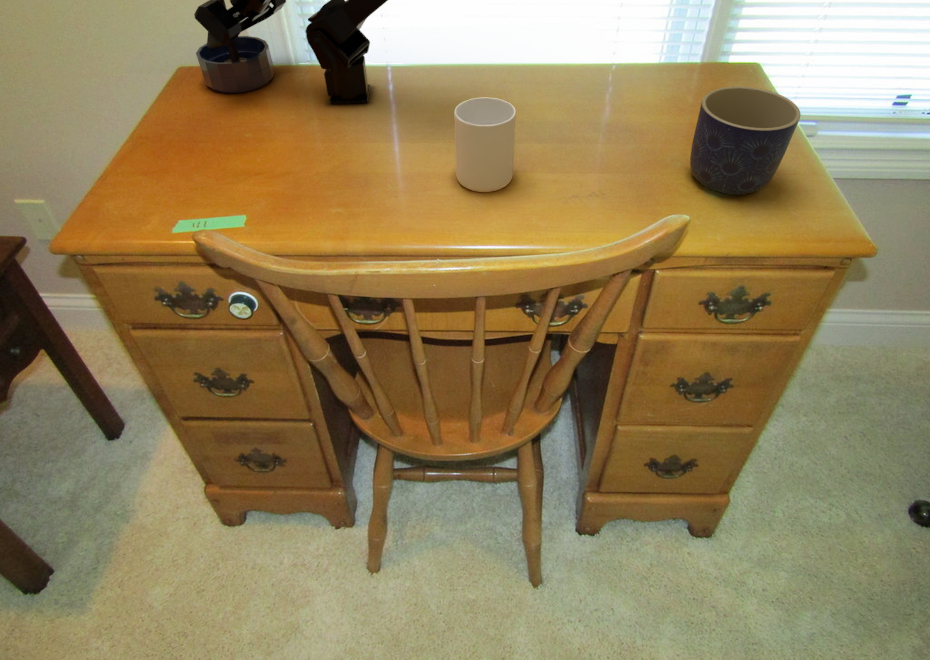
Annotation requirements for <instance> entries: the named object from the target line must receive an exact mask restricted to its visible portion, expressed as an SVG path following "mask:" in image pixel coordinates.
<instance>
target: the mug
mask: <svg viewBox="0 0 930 660" xmlns="http://www.w3.org/2000/svg"><path fill="white" fill-rule="evenodd" d="M453 114H454V115H453V116H454V117H453V118H454V119H453V120H454V156H455V157H454V158H455V174H456V179H457V181H458V183H459V184H460V185H461V186H463V187H464V188H466V189H468V190H470V191H473V192H477V193H479V192H480V193H490V192H496V191H499V190H501V189H504V188H505V187H506V186H507V185H509V184H510V182H511V181H512V179H513V176H514V163H515V161H514V160H515V143H516V142H515V140H516V121H517V120H516V118H517V111H516V108H515V106H514V105H513V104H512V103H510V102H509V101H508V100H507V101H506V100H505V99H501V98H497V97H487V96H485V97H481V96H480V97H473V98H470V99H467V100H464V101H462V102H460V103H458V104H457V105H456V107H455V108H454V111H453Z"/></svg>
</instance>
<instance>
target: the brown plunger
mask: <svg viewBox="0 0 930 660" xmlns="http://www.w3.org/2000/svg"><path fill="white" fill-rule="evenodd" d="M218 1H219V2H220V3H221V4H222V5H223V6H224V7H225V8H226V9H227V5H226V2H225V1H226V0H218ZM227 10H228V9H227ZM227 48H228V52H229V55H230V59H229V60H226V61H225V62H236V61H241V60H246V59H247V58H240V57H239V54H238V50H237V46H236V42H235V40H234V41H232V42H231V43H229V44H227Z"/></svg>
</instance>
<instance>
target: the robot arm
mask: <svg viewBox="0 0 930 660" xmlns="http://www.w3.org/2000/svg"><path fill="white" fill-rule="evenodd" d="M388 1H389V0H329V1H327V2H326V3H324V4H323V5H322V6H321V7H320V8H319V10H318V11H317V12H315V13H314V14H313V15H311V16H309V17H308V18H307V21H308V22H310V23H309V24H308V25H307V27H306V28H305V35H306V40H307V43H308V46H309V47H310V48H311V51H312V52H313V53H314V56H315V58H316V60H317V62H318V64H319V66H320V68H321V69H322V70H324V73H323V75H324V81H325V87H326V92H327V96H328V97H330V98H329V103H330V104H331V105H337V104H338V105H339V104H342V105H343V104H344V105H345V104H367V103H368V102H369V96H370V90H371V85H370V83H369V82H368V74H367V65H366V59H365V58H366V57H365V55H366V54H368V53H369V49H370V46H371V45H370V44H371V41H370V40H369V39H368V37H367V36H366V35H365V34H364V33H363V32H362V31H361V28H362V27H363V25H364V23H365V22H366V20H367V19H368V18H369V17H370V16H371V15H372V14H374V13H375V12H376V11H377V10H378V9H380V8H381V7H382V6H383V5H384V4H386V3H387V2H388ZM229 2H230V4H231V7H229V8H228V9H226V8H227V7H226V8H225V7H224V6H223V5H222V4H221V3H220V2H219V1H218V0H207V1H205V2H204V3H202V4H200V5H199V6H198V7H197V8H196V10H195V12H194V14H193V15H194V16H193V17H194V19H195V20H196V21H197V22H198V23H199V24H200V25H201V26H202V27H203V28H204V29H205V30H206V31H207V39H206V43H207V47H208V48H209V49H210V50H214V49H217V48H219V47H221V46H223V45H225V46H226V45H227V44H229V43H231V42H232V41H234V40H235V39H237V38H238V36H240V34H241V33H242V32H245V31H246V30H248V29H249V28H251V27H253V26H256V25H258V24H259V23H261V22H263V21H265V20H267V19H269V18H270V17H272V16H273V15H275V14H276V13H277V12H278V11H280V10H282V8H283V7H284V6H285V4H286V3H287V0H229Z"/></svg>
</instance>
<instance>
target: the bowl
mask: <svg viewBox="0 0 930 660" xmlns="http://www.w3.org/2000/svg"><path fill="white" fill-rule="evenodd" d="M235 42H236V46H237V50H238V54H239V57H240V58H247V59H246V60H241V61H236V62H225V61H226V60H229V59H230V55H229V52H228V48H227V45H226V46H225V45H223V46H221V47H219V48H217V49H214V50H210V49H209V48H208V47H207V42H206V43H205V44H203V45H201V46H199V47H198V49H197V50H196V52H195V55H196V58H197V62H198V65H199V68H200V72H201V75H202V78H203V81H204V84H205V86H206V87H208V88H210V89H211V90H213V91H216V92H218V93H222V94H223V93H224V94H241V93H248V92H252V91H255V90H258V89H260V88H262V87H264V86H266V85H267V84H268V83H270V82H271V80H272V79H273V77H274V75H275V72H276V71H275V68H274V63H273V59H272V55H271V51H270V46H269V44H268V43H267V41H266V40H265V39H262V38H260V37H257V36H250V35H238V38H237V39H235Z"/></svg>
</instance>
